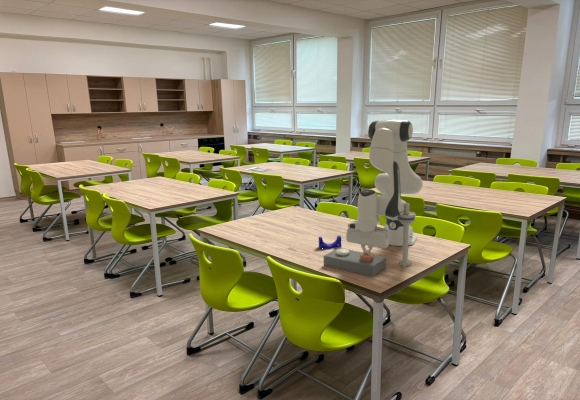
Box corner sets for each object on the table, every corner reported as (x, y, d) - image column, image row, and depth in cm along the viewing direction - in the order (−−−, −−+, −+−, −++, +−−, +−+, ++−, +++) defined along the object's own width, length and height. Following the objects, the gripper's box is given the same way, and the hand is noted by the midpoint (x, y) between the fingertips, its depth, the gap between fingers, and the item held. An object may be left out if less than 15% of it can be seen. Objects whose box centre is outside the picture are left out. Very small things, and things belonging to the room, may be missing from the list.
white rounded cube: (340, 259, 206) (340, 248, 205) (351, 262, 202) (351, 250, 201) (333, 263, 201) (333, 251, 200) (345, 266, 197) (345, 254, 196)
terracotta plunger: (363, 262, 198) (364, 251, 197) (376, 265, 194) (376, 253, 193) (357, 267, 193) (357, 254, 192) (370, 269, 189) (370, 257, 188)
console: (338, 257, 211) (338, 247, 210) (386, 267, 195) (386, 257, 194) (323, 265, 200) (323, 255, 199) (372, 277, 184) (372, 266, 183)
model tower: (417, 266, 195) (419, 204, 189) (402, 268, 193) (404, 206, 186) (407, 260, 203) (409, 201, 197) (392, 263, 200) (394, 202, 194)
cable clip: (320, 249, 223) (320, 239, 222) (318, 247, 228) (318, 236, 226) (342, 248, 225) (341, 237, 223) (339, 245, 229) (339, 235, 228)
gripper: (391, 227, 185) (390, 256, 188) (351, 220, 198) (351, 248, 201) (385, 230, 181) (384, 260, 183) (344, 223, 193) (344, 251, 196)
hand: (366, 253), depth 192 cm, fingers closed
